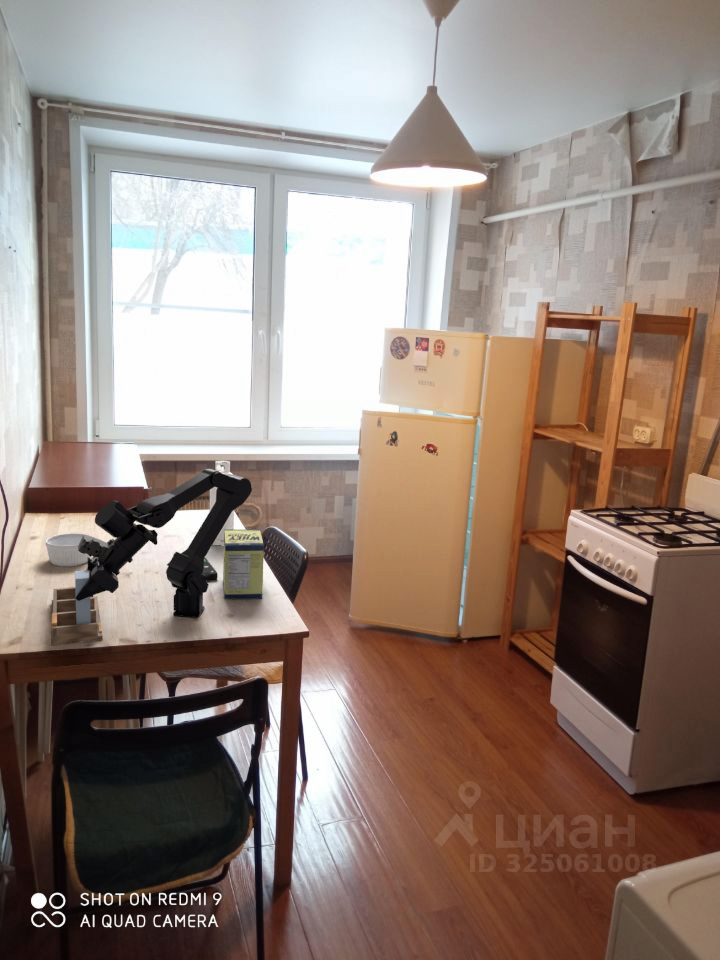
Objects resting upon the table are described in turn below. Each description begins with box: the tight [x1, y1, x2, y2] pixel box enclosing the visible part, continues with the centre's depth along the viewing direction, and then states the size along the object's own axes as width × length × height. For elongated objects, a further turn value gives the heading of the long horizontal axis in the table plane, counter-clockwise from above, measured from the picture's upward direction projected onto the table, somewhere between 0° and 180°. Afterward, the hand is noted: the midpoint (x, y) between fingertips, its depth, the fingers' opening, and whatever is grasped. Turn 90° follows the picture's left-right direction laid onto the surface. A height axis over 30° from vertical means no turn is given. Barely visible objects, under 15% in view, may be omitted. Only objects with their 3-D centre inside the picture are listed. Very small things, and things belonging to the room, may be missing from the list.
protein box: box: [222, 529, 265, 600], centre depth 199 cm, size 10×16×16 cm
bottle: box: [209, 460, 235, 546], centre depth 238 cm, size 8×8×28 cm
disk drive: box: [201, 557, 218, 582], centre depth 210 cm, size 10×3×15 cm
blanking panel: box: [74, 569, 91, 625], centre depth 165 cm, size 3×6×12 cm, turn 23°
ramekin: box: [45, 532, 93, 567], centre depth 214 cm, size 13×13×7 cm
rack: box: [50, 586, 103, 646], centre depth 173 cm, size 11×25×5 cm, turn 23°
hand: (76, 594), depth 164 cm, fingers closed on blanking panel, 5 cm apart
